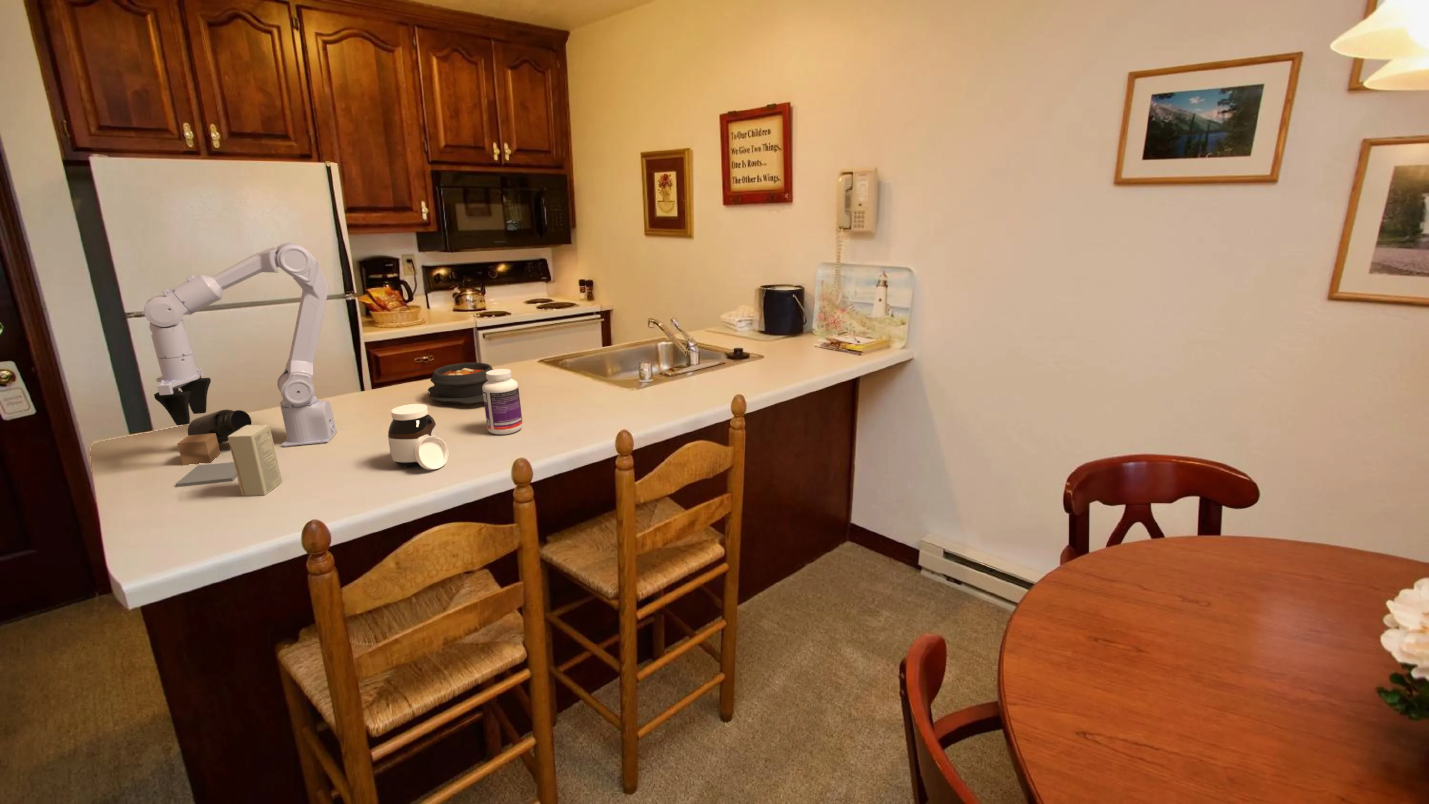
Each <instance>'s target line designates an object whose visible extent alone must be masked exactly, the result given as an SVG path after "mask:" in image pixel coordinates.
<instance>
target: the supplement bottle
mask: <svg viewBox="0 0 1429 804" xmlns="http://www.w3.org/2000/svg"><path fill="white" fill-rule="evenodd" d="M246 425H252V418H251V416H250V415H249V413H247V412H246V411H244V410H241V409H239V410H238V409H237V410H233V409H221V410H218V411H215V412H212V413H209V414H205V415H202V416H199V417H197V418H194V419H192V420H190V423H189V424H188V427H187V430H186V431H187V432H186V433H187V436H188V435H200V434H211V433H216V437H217V441H218V445H219V444H222V443H225V442H229V440H228V436H229V435H231V434H232V433H234V432H236V431H237V430H239V429H241V428H242V427H244V426H246Z"/></svg>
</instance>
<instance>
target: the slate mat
mask: <svg viewBox="0 0 1429 804" xmlns="http://www.w3.org/2000/svg"><path fill="white" fill-rule="evenodd" d="M236 478H238V477H237V473H236V469H235V465H234V461H231V462H220V463H207V464H197V465H196V466H195V467H194V468H193V469H192V470H191V471H189V472H188V473H187V474H185V475H184V476H183V477H182V478H180V479H179V480H178V481H177V482H176V483H174V484H175V487H176V488H179V487H186V486H189V487H190V486H196V485H206V484H215V483H216V484H217V483H226V482H227V483H228V482H233V481H234V480H235V479H236Z"/></svg>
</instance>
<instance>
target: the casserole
mask: <svg viewBox="0 0 1429 804" xmlns="http://www.w3.org/2000/svg"><path fill="white" fill-rule="evenodd" d="M490 370H494V369H493V366H492V365H491V364H489V363H484V362H461V363H460V362H459V363H453V364H447V365H443V366H440V367H438V368H436V369H434V370H433V372H432V376H431V377H430V382H431V383H433V385H432V386H430V387H428V389H427V391H428V393H429V395H428V396H429V397H430V399H432V400H435V401H438V402H444V403H449V404H465V405H466V404H468V405H471V404H473V405H474V404H478V403H484V398H483V390H482V387H483V385H484V383H485V382H487V381H488V380H487V378H486V372H488V371H490Z"/></svg>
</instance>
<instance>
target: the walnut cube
mask: <svg viewBox="0 0 1429 804" xmlns="http://www.w3.org/2000/svg"><path fill="white" fill-rule="evenodd" d="M176 444H177V447H178V451H179V456H180V458H181V463H182V466H183V465H184V466H190V465H189V464H195V465H200V464H199V463H205V464H212V463H213V462H214V461H215V460H216V459H217V458H218V457H219V455H220V454H221V455H222V453H221V450H220V446H219V444H218V441H217V437H216V433H211V434H200V435H188V434H187V436H186V437H184V438H183V439H182V440H180V441H178V443H176ZM221 455H220V456H221ZM215 458H216V459H215ZM214 459H215V460H214ZM213 460H214V461H213ZM212 461H213V462H212Z"/></svg>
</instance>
